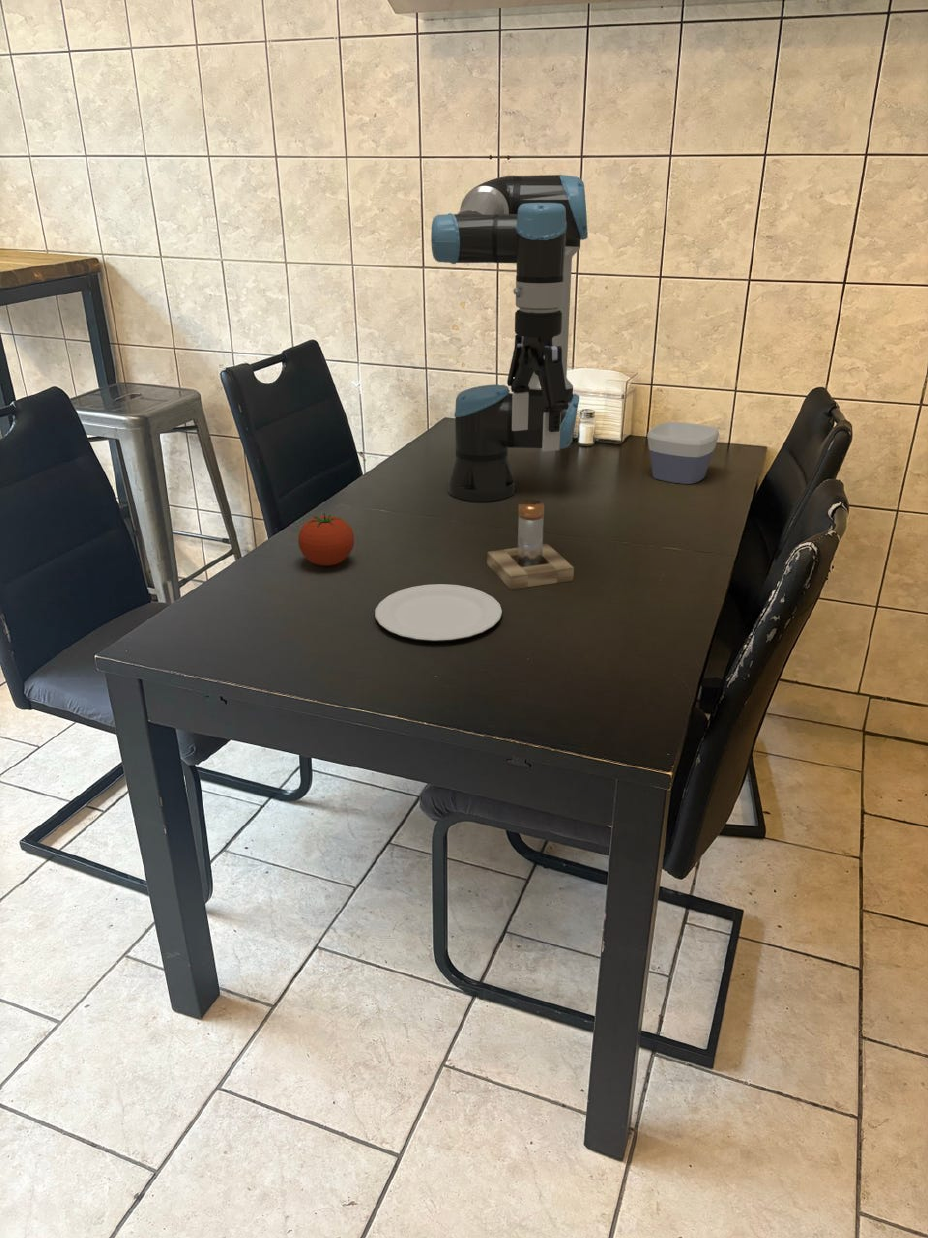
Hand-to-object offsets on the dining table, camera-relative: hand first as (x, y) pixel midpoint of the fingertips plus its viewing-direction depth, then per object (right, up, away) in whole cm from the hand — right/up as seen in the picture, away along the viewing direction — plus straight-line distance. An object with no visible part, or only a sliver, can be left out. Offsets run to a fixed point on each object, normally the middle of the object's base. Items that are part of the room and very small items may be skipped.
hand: (534, 439), depth 155 cm
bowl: (+39, +3, +61) cm, 73 cm away
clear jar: (0, -22, +11) cm, 25 cm away
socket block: (0, -22, +11) cm, 25 cm away
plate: (-16, -31, -5) cm, 35 cm away
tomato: (-37, -20, +15) cm, 45 cm away
